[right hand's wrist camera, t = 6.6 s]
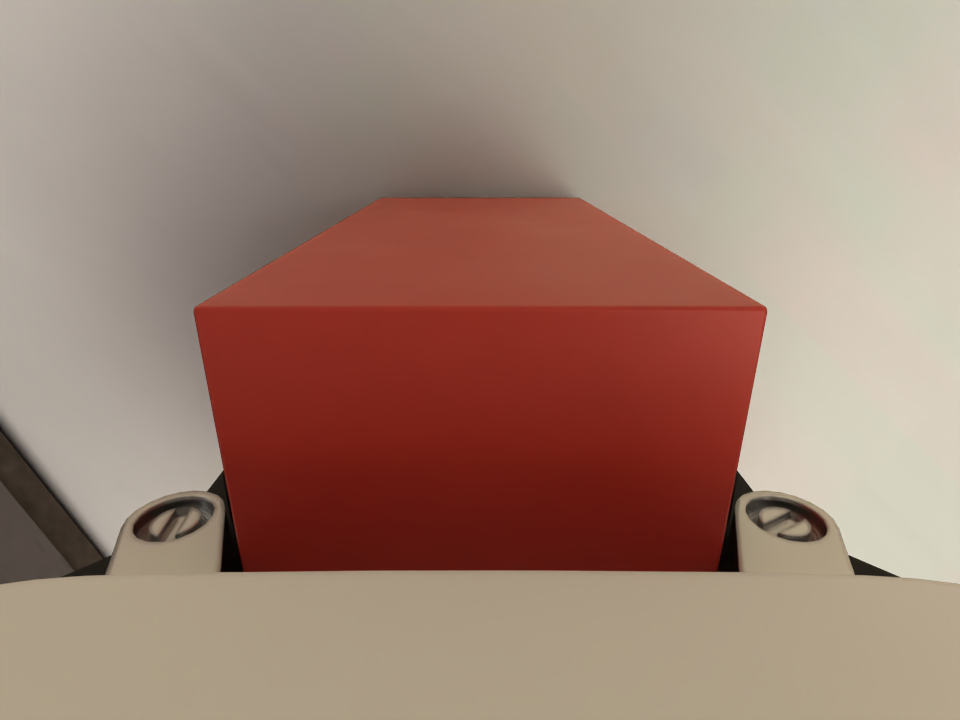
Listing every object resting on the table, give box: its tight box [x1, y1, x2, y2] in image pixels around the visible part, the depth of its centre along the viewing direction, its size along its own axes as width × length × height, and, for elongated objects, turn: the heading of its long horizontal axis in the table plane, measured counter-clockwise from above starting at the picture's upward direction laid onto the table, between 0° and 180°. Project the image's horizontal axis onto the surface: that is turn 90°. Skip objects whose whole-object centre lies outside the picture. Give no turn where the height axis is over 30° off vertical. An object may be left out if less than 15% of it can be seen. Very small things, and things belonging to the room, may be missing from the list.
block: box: [194, 198, 767, 572], centre depth 12 cm, size 6×9×11 cm, turn 0°
